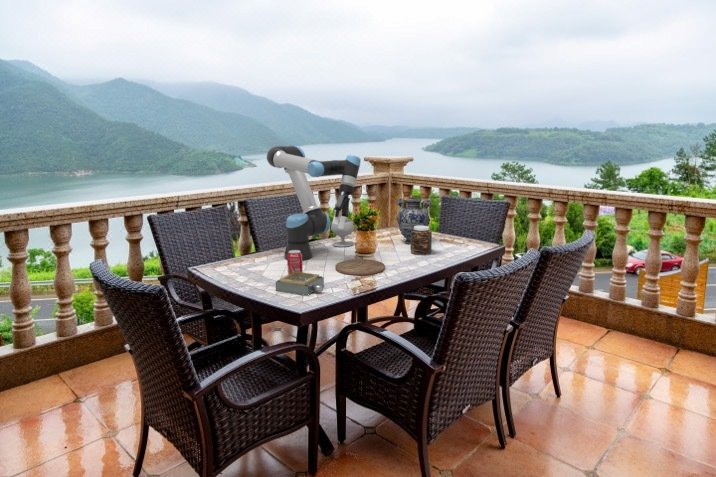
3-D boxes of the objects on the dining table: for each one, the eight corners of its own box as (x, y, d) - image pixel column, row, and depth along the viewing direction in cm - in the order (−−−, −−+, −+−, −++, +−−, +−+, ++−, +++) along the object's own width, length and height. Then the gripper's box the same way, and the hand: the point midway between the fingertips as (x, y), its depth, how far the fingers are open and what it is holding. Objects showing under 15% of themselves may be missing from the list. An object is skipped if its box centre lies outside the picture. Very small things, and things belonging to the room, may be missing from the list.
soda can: (295, 272, 231) (294, 248, 229) (305, 275, 227) (305, 251, 224) (284, 276, 226) (283, 251, 224) (295, 278, 222) (294, 254, 219)
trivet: (393, 266, 243) (393, 263, 242) (369, 279, 222) (369, 275, 221) (351, 260, 255) (351, 256, 255) (325, 271, 234) (325, 268, 234)
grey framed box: (275, 290, 205) (275, 279, 204) (293, 281, 218) (293, 270, 217) (316, 296, 197) (315, 285, 196) (331, 287, 210) (331, 275, 208)
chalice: (332, 242, 295) (331, 218, 292) (354, 242, 295) (354, 218, 292) (330, 247, 282) (329, 222, 278) (353, 247, 281) (353, 222, 278)
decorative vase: (392, 244, 287) (393, 198, 282) (398, 238, 305) (400, 195, 299) (427, 247, 281) (429, 200, 276) (432, 241, 299) (434, 196, 293)
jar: (430, 250, 274) (431, 224, 271) (431, 255, 263) (432, 229, 259) (410, 250, 275) (410, 224, 272) (410, 255, 264) (411, 228, 261)
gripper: (350, 180, 227) (340, 223, 224) (358, 192, 251) (349, 231, 249) (335, 177, 228) (325, 220, 226) (344, 190, 252) (335, 229, 250)
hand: (337, 226), depth 237 cm, fingers open, 13 cm apart
